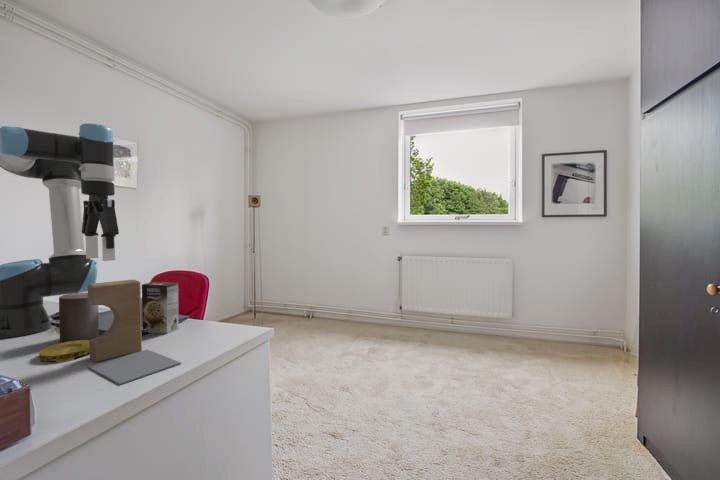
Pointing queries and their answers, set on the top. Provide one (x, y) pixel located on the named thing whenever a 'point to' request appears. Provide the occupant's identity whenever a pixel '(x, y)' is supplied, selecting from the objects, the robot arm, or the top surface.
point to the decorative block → (117, 319)
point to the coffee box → (160, 307)
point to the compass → (65, 351)
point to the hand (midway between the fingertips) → (100, 259)
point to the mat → (133, 366)
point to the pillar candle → (77, 318)
